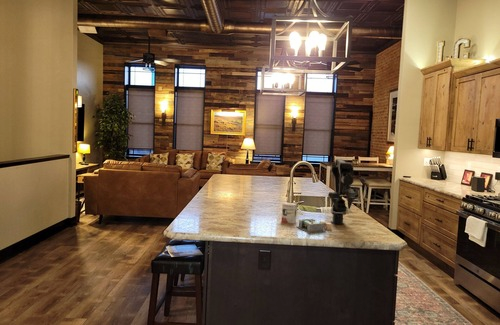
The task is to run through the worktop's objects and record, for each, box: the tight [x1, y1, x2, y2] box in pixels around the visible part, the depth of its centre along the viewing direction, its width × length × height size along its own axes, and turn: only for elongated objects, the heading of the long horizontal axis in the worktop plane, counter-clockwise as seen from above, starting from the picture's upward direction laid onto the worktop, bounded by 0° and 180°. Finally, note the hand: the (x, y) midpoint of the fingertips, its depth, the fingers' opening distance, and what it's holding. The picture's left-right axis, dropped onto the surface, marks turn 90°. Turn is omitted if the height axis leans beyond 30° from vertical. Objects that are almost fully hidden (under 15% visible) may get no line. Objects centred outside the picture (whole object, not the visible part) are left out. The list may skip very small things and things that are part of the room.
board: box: [303, 220, 318, 225], centre depth 220 cm, size 9×6×2 cm, turn 24°
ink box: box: [280, 202, 298, 224], centre depth 238 cm, size 9×5×12 cm, turn 68°
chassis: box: [296, 218, 326, 234], centre depth 220 cm, size 14×11×5 cm
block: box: [319, 220, 333, 231], centre depth 226 cm, size 8×3×4 cm, turn 24°
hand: (342, 209), depth 225 cm, fingers open, 9 cm apart
